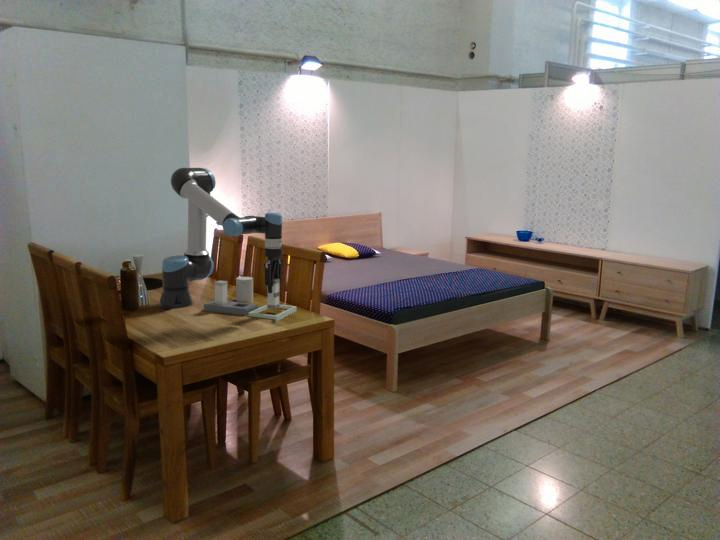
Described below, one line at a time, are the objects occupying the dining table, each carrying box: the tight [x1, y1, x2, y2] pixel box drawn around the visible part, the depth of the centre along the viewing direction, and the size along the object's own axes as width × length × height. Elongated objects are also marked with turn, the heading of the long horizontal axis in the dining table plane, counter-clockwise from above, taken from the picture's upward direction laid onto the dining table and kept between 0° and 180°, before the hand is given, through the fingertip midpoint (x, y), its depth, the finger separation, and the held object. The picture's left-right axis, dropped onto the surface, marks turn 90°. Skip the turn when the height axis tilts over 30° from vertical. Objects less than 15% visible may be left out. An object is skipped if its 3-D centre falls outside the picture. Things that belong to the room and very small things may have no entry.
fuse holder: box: [203, 299, 258, 317], centre depth 278 cm, size 22×10×4 cm, turn 70°
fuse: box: [214, 280, 229, 305], centre depth 279 cm, size 4×4×13 cm
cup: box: [235, 276, 254, 303], centre depth 298 cm, size 8×8×12 cm
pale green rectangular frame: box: [247, 304, 297, 323], centre depth 276 cm, size 14×20×2 cm
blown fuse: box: [266, 279, 281, 310], centre depth 275 cm, size 4×4×13 cm
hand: (273, 298), depth 275 cm, fingers closed on blown fuse, 4 cm apart
